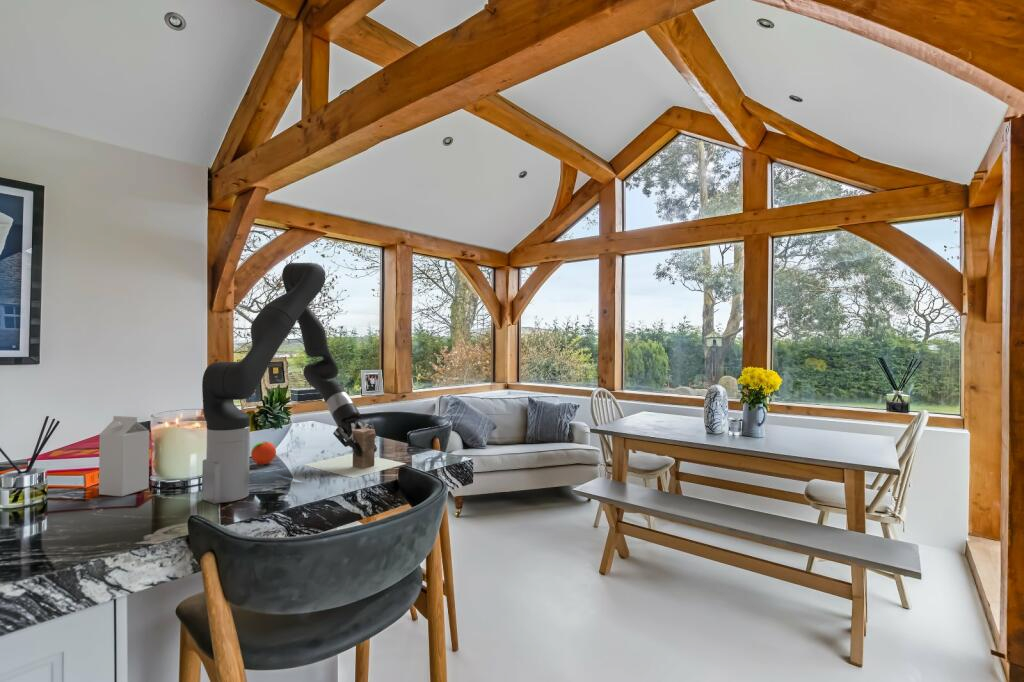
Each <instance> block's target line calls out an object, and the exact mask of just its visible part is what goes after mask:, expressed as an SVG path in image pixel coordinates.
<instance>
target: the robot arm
mask: <svg viewBox="0 0 1024 682" xmlns="http://www.w3.org/2000/svg"><path fill="white" fill-rule="evenodd" d="M281 274H282V275H281V279H282V283H283V286H284V290H285V293H283V294H282V295H280V296H278V297H275V298H274V299H272V300H271V301H269V302H268V303H267V304H265V305H264V306H263V307H262V308H261V310H260V311H259V313H258V314H257V315H256V316H255V318H254V320H252V321H251V322H252V323H251V325H250V337H251V347H250V348H249V349H250V350H249V351H248V353H247V354H246V355H245V356H244V358H243V359H242V360H240V361H215V362H213V363H210V364H209V365H208V366H207V367H206V369H205V370H204V373H203V375H202V381H201V382H202V383H201V390H202V411H203V412H202V413H203V417H204V419H205V422H206V458H205V459H203V460H202V469H201V470H202V473H201V474H202V475H201V476H202V479H201V480H202V481H201V483H202V485H201V486H202V488H201V499H202V500H204V501H205V502H208V503H209V504H210V503H211V504H213V505H215V504H221V503H231V502H235V501H239V500H243V499H244V498H245V499H246V498H247V497H249V495H250V455H251V452H250V442H251V441H250V439H251V437H250V436H251V426H250V425H251V417H250V414H248V413H247V412H245V411H242V410H241V409H240V408H238V407H237V406H236V405H235V401H241V400H245V399H249V398H250V397H251V396H253V394H254V393H255V392H256V390H257V389H258V388H259V386H260V384H261V382H262V380H263V377H264V376H265V374H266V371H267V369H268V368H269V366H270V364H271V362H272V360H273V359H274V357H275V356H276V353H277V352H278V351H279V349H280V347H281V345H282V344H283V342H284V341H285V340H286V338H287V337H288V336H289V334H290V333H291V331H292V329H293V328H294V326H295V324H296V323H298V327H299V328H300V329H299V330H300V333H301V338H302V341H303V346H304V351H305V354H306V355H307V357H309V358H319V357H321V358H322V359H320V360H317V361H315V362H311V363H307V364H306V365H305V366H304V368H303V377H304V379H305V380H306V382H307V383H308V384H309V385H310V386H311V387H312V388H313V389H315V391H317V392H318V393H319V394H320V396H321V397H322V399H323V400H324V402H325V404H326V406H327V408H328V411H329V413H330V415H331V417H332V418H333V421H334V422H335V424H336V426H337V428H336V429H335V430H334V431H333V433H332V434H333V436H335V438H336V439H337V440H338V441H339V442H340V443H341V444H342V446H344V447H346V448H347V447H350V448H351V449H352V451H353V450H354V452H355V454H356V455H357V456H358V457H360V456H362V454H363V451H362V449H361V447H360V445H359V443H357V439H356V438H355V434H354V432H353V430H356V429H362V428H368V429H374V430H375V426H374V423H373V422H372V421H370V422H369V423H365V422H364V421H363V420H362V417H361V414H360V412H359V409H358V408H357V406H356V404H355V402H354V401H353V399H352V398H351V397H350V395H349V393H347V391H346V389H345V388H344V386H343V384H342V383H341V381H339V380H336V379H335V378H336V377H337V376H338V374H339V367H338V364H337V363H336V361H335V359H334V358H333V355H332V353H331V350H330V348H329V345H328V339H327V335H326V330H325V327H324V325H323V323H322V322H321V321H320V319H319V317H317V315H316V314H315V313H314V311H313V310H312V308H311V307H310V306H309V305H310V303H311V302H312V301H313V300H314V299H315V298H316V297H317V296H318V294H319V293H320V292H321V291H322V289H323V288H324V285H325V283H326V271H325V269H324V267H323V266H322V265H321V264H318V263H316V262H290V263H287V264H286V265H284V266H283V269H282V273H281ZM333 379H334V380H333ZM376 438H377V433H376V430H375V439H376ZM377 450H378V448H377V445H376V444H375V448H374V452H375V453H376V452H377Z"/></svg>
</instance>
